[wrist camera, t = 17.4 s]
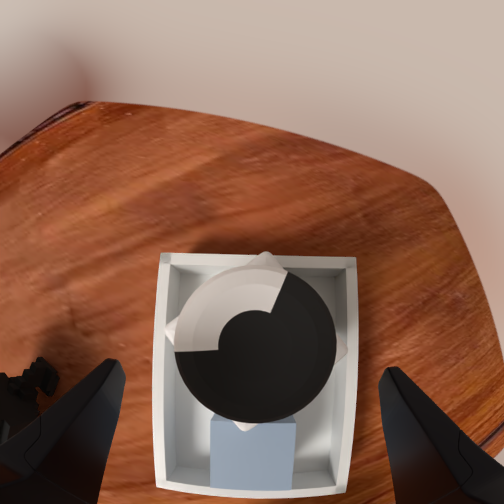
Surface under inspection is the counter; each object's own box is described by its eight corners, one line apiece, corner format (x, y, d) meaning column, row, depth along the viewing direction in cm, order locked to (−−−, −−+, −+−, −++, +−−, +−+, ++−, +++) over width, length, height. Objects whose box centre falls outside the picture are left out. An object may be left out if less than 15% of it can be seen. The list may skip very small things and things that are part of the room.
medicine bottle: (323, 347, 21) (393, 355, 9) (247, 405, 20) (237, 475, 8) (264, 274, 22) (271, 207, 11) (189, 331, 21) (118, 322, 10)
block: (288, 404, 20) (296, 423, 15) (284, 461, 18) (291, 490, 13) (220, 402, 20) (210, 420, 15) (219, 459, 18) (210, 487, 14)
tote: (333, 472, 18) (345, 492, 15) (170, 467, 19) (156, 486, 15) (340, 270, 23) (356, 257, 20) (175, 266, 24) (160, 252, 20)
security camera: (79, 386, 21) (2, 398, 11) (41, 496, 16) (-10, 523, 7) (33, 343, 22) (-41, 335, 12) (2, 457, 17) (-51, 472, 8)
